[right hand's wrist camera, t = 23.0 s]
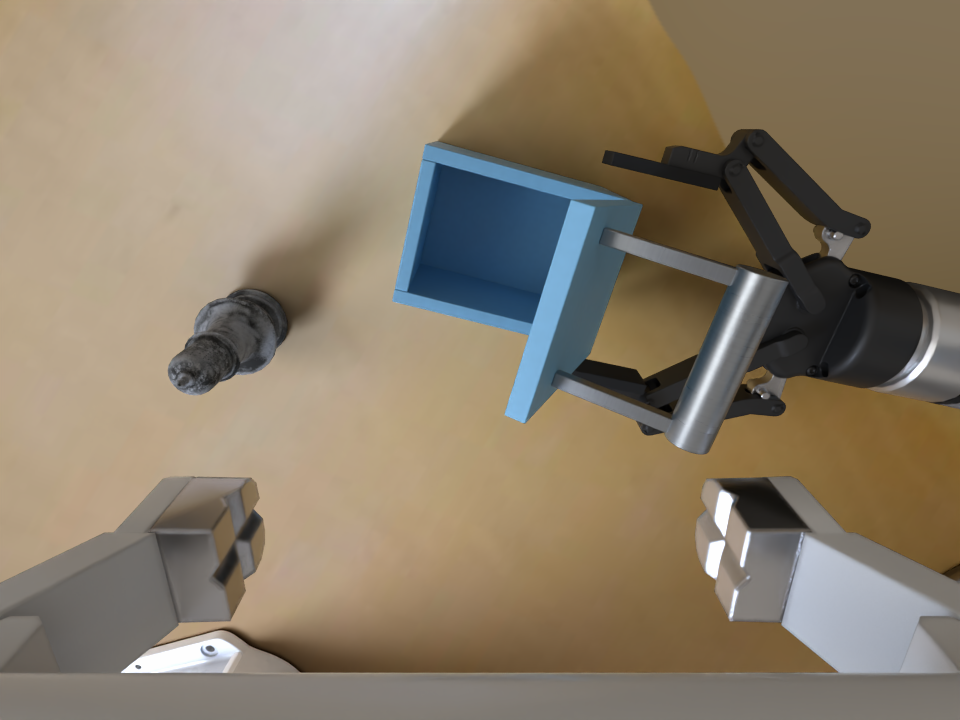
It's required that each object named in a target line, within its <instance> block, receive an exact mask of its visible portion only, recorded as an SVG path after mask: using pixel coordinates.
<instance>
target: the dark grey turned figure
mask: <svg viewBox="0 0 960 720" xmlns="http://www.w3.org/2000/svg"><path fill="white" fill-rule="evenodd" d="M286 333H287V319H286V315H285V312H284V311H283V309H282V307H281V306H280V304H279V303H278V302H277V301H276V300H275V299H274V298H272V297H271V296H269V295H268V294H266V293H264V292H261V291H258V290H253V289H244V290H238V291H236V292H234V293H232V294H230V295H229V296H228V297H227V298H222V299H217V300H215V301H213V302H210V303H208V304H207V305H206V306H205V307H204V308H203V309H202V310H201V311H200V312H199V314H198V316H197V318H196V320H195V325H194V335H193V336H192V337H191V338H189V339H188V341H187V343H186V344H185V349H184V350H183V351H182V352H180V353H179V354H178V355H176V356H175V357H174V358H173V359H172V361H171V362H170V364H169V367H168V376H169V378H170V381H171V382H172V384H173V385H174V386H175V387H176V388H177V389H178V390H180V391H182V392H183V393H186V394H189V395H201V394H204V393H206V392H208V391H210V390H211V389H212V388H213V387H214V386H215V385H216V384H217V383H218V382H221V381H226V380H228V379H230V378H232V377H233V376H234V375H235V374H238V375H245V374H252V373H255V372H257V371H259V370H262V369H263V368H264V367H265V366H266V365H268V364H269V363H270V361H271V359H272V358H273V356H274V354H275V351H276V348H277V347H278V346H280V345H281V343H282V342H283V340H284V339H285V337H286Z"/></svg>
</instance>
